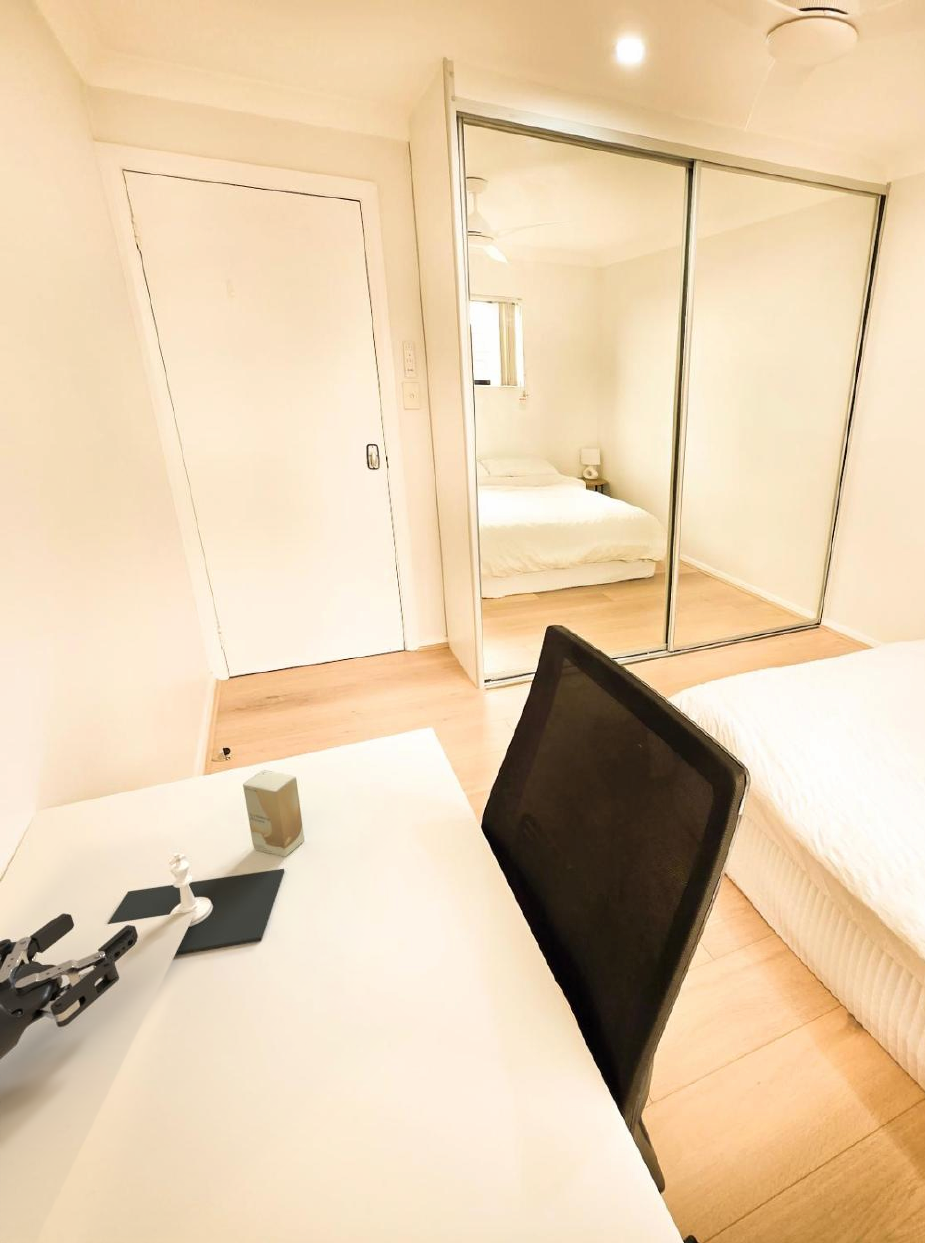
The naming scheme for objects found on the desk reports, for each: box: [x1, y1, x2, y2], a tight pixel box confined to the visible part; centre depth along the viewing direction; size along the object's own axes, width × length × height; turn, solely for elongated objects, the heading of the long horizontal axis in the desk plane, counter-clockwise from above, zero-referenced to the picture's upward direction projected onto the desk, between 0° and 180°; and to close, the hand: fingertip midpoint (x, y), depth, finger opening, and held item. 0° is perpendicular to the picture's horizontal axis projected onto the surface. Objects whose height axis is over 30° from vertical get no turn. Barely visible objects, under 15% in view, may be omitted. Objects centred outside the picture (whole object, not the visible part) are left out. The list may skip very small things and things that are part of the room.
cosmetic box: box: [242, 769, 305, 857], centre depth 95 cm, size 6×4×12 cm
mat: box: [107, 868, 285, 956], centre depth 83 cm, size 20×13×1 cm, turn 105°
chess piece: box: [168, 852, 213, 927], centre depth 81 cm, size 5×5×10 cm
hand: (101, 924), depth 71 cm, fingers open, 8 cm apart
